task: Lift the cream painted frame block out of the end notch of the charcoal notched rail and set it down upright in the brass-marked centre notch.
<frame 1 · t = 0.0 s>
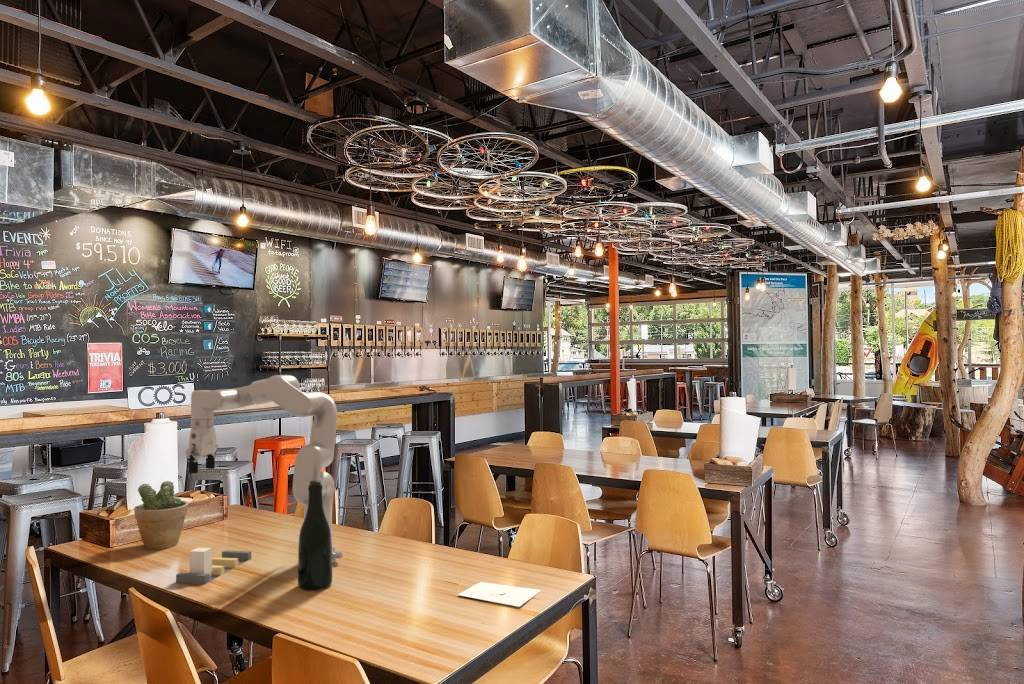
hand: (202, 470, 232), 31 cm above the table, tool pointing down, fingers open, 9 cm apart
frame block: (200, 577, 203), point 1 cm above the table, touching notch rail
paper sheet: (509, 589, 197), on the table
beer bottle: (315, 586, 200), on the table
notch rail: (215, 574, 211), on the table
potted plant: (161, 545, 246), on the table
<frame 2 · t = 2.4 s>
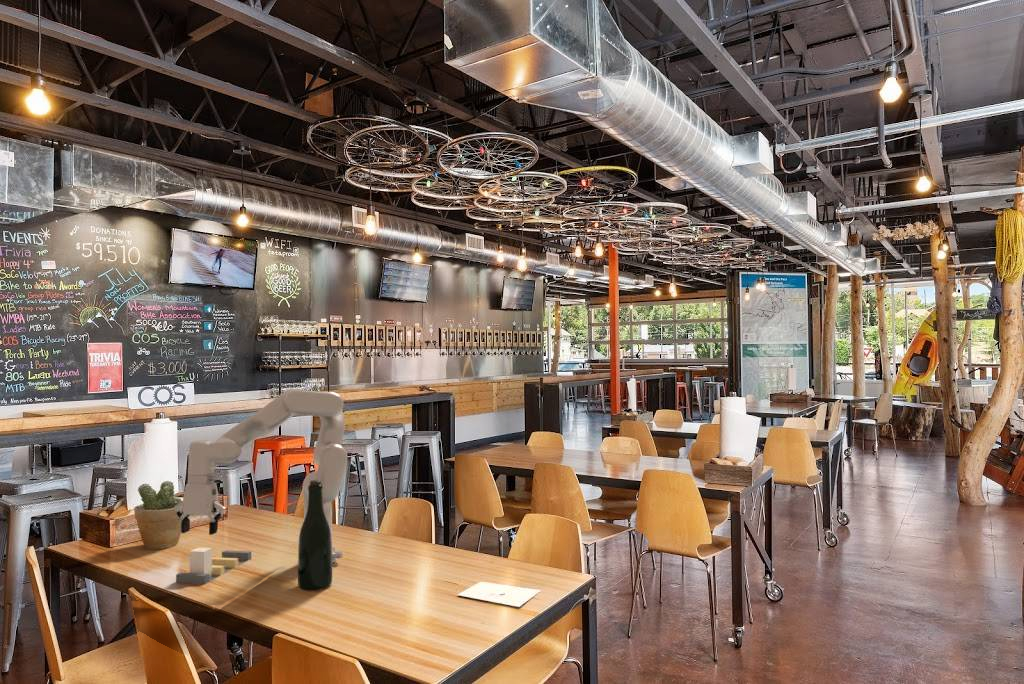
hand: (199, 532, 204), 16 cm above the table, tool pointing down, fingers open, 9 cm apart
nothing on the table moved.
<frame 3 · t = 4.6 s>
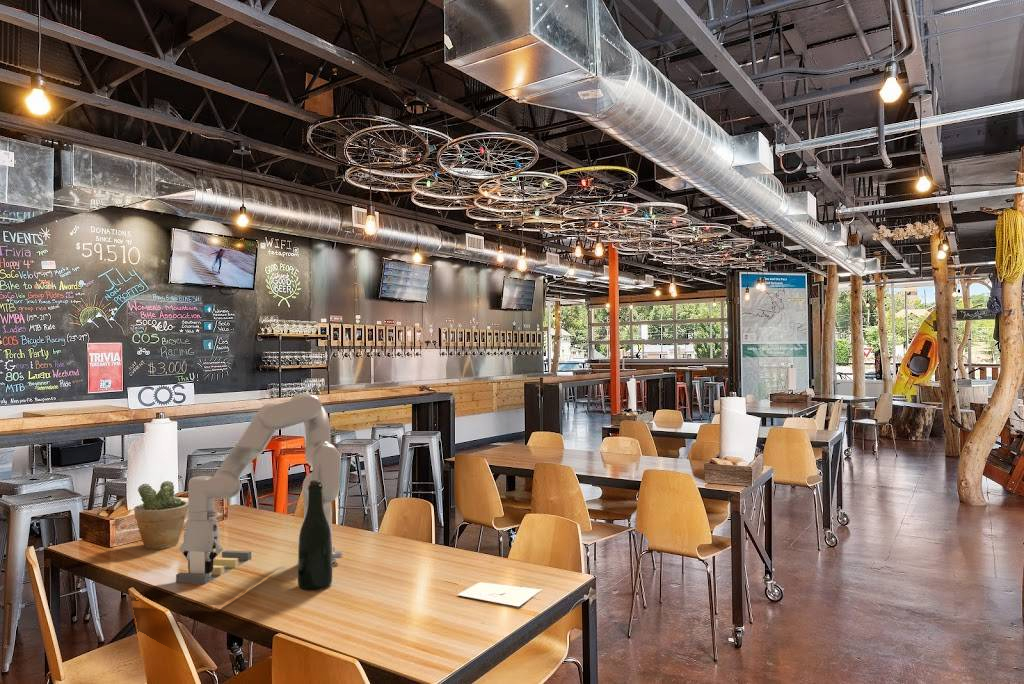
hand: (200, 571, 203), 3 cm above the table, tool pointing down, fingers closed on frame block, 5 cm apart
frame block: (200, 577, 203), point 2 cm above the table, touching gripper, notch rail
everything else where it was.
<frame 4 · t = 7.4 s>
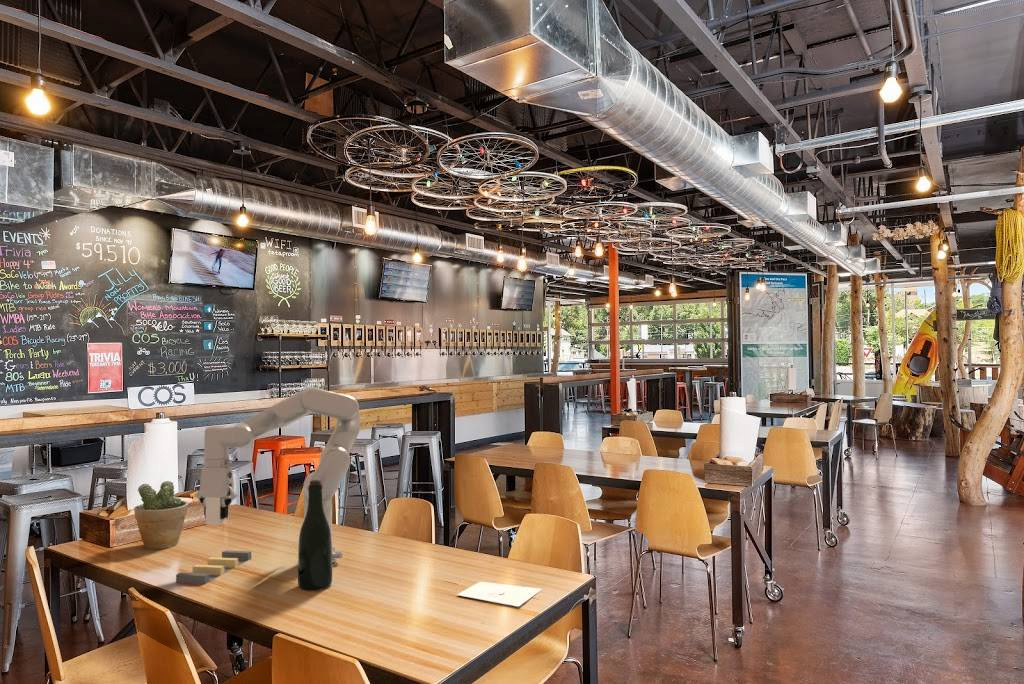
hand: (216, 517, 212), 19 cm above the table, tool pointing down, fingers closed on frame block, 5 cm apart
frame block: (216, 523, 212), point 17 cm above the table, touching gripper
everything else where it was.
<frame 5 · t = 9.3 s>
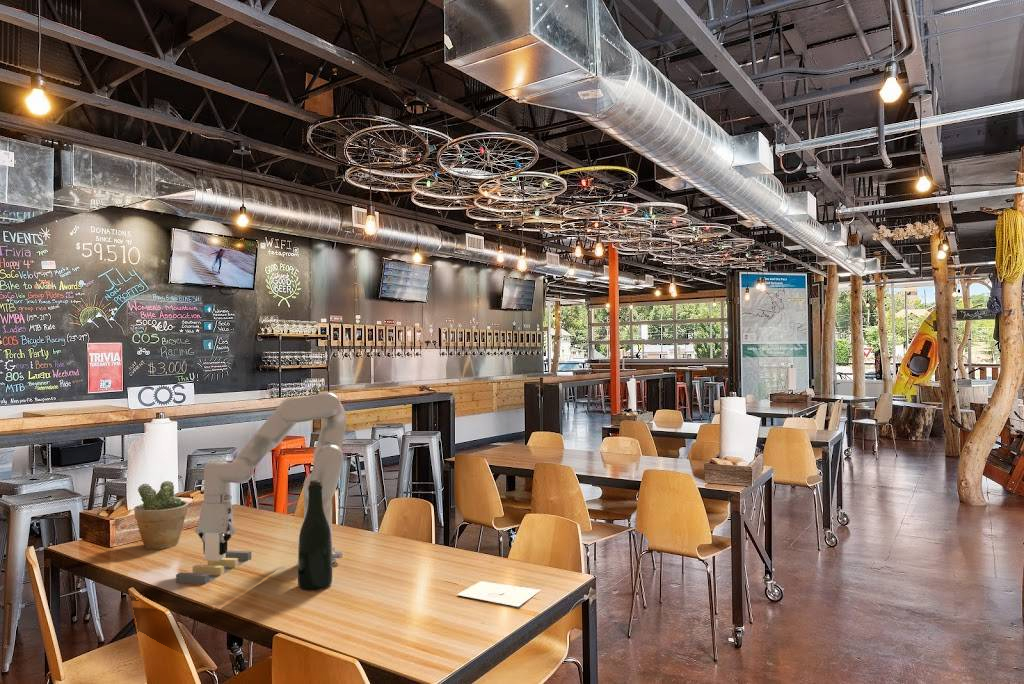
hand: (215, 552, 211), 7 cm above the table, tool pointing down, fingers closed on frame block, 5 cm apart
frame block: (215, 558, 211), point 5 cm above the table, touching gripper
everything else where it was.
when the fingers open (5 cm above the table, at t = 10.7 s): frame block drops 1 cm, resting on notch rail.
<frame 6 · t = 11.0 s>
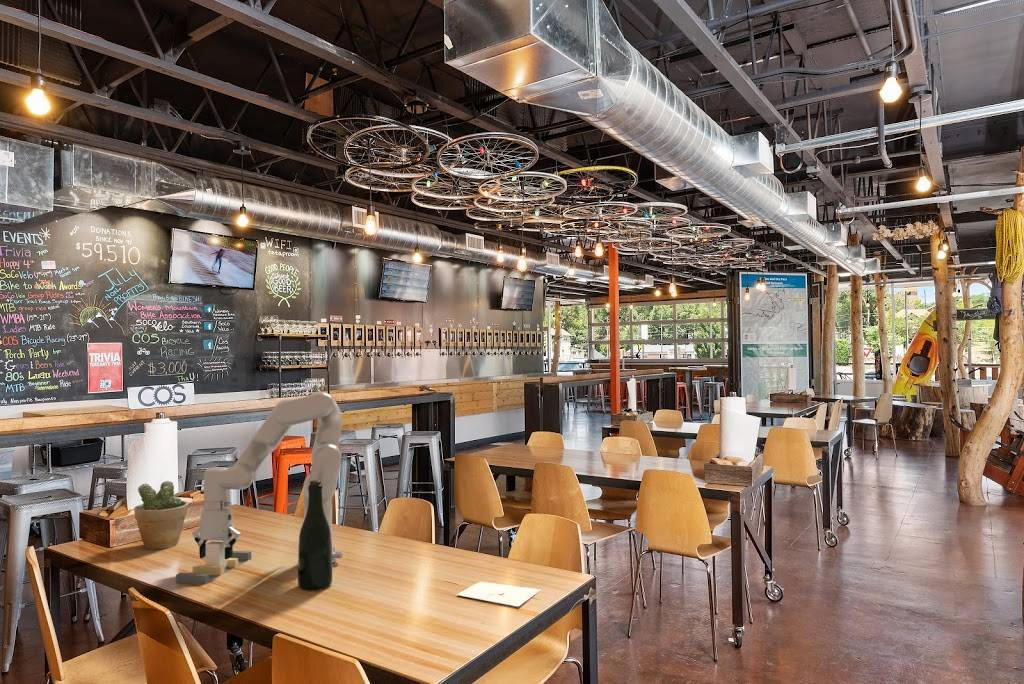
hand: (215, 557, 211), 6 cm above the table, tool pointing down, fingers open, 8 cm apart
frame block: (216, 569, 211), point 1 cm above the table, touching notch rail
everything else where it was.
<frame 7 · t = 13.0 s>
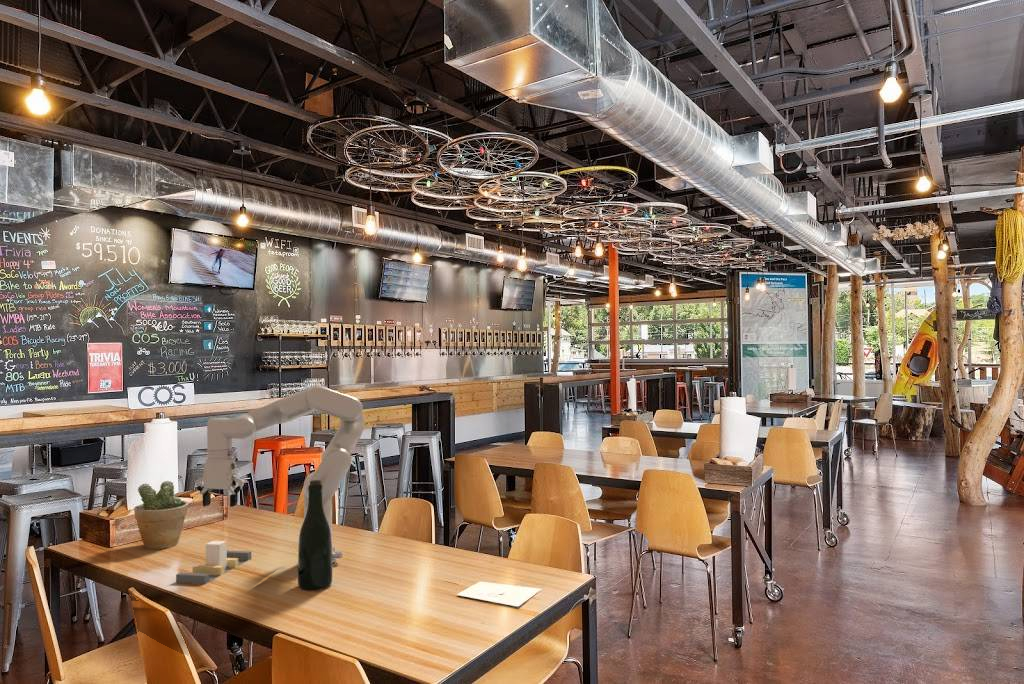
hand: (220, 505, 213), 22 cm above the table, tool pointing down, fingers open, 9 cm apart
nothing on the table moved.
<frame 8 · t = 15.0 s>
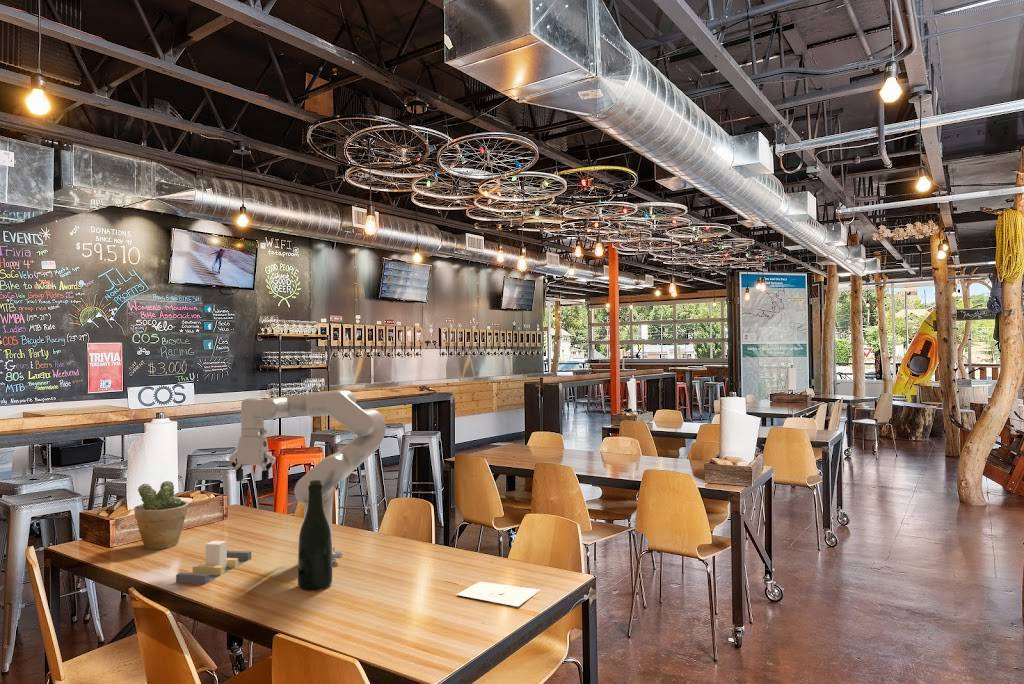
hand: (252, 480, 226), 28 cm above the table, tool pointing down, fingers open, 9 cm apart
nothing on the table moved.
at the end: frame block 0.1 cm off-centre on the notch rail, point 1.5 cm above the notch rail's base; frame block tilted 0°; the gripper is holding nothing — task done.
